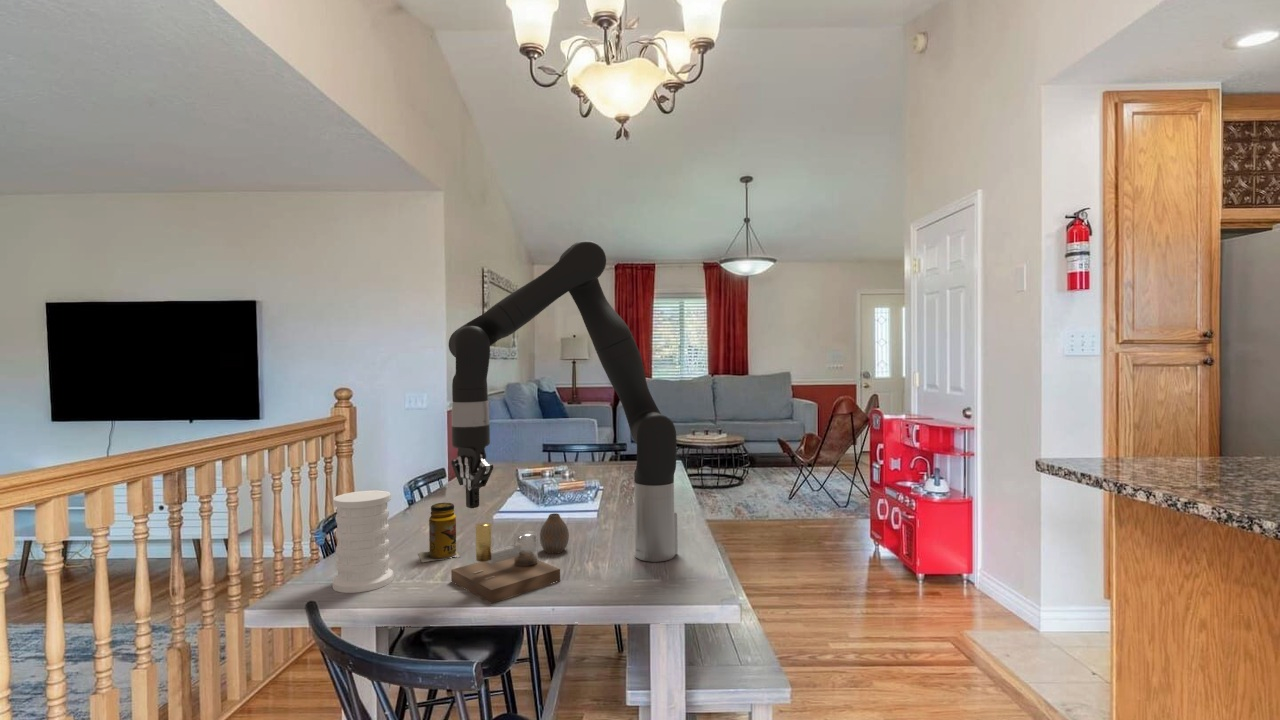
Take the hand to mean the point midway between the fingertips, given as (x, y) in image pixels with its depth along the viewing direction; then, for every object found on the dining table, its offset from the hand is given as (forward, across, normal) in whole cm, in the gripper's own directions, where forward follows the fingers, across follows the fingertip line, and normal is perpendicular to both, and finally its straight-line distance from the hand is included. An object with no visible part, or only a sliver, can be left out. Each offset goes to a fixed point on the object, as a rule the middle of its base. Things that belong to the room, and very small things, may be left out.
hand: (472, 507), depth 125 cm
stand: (+16, -4, -5) cm, 17 cm away
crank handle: (+13, -4, -5) cm, 15 cm away
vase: (+16, +4, -24) cm, 29 cm away
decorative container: (+16, +18, +15) cm, 28 cm away
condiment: (+16, +22, -4) cm, 27 cm away
